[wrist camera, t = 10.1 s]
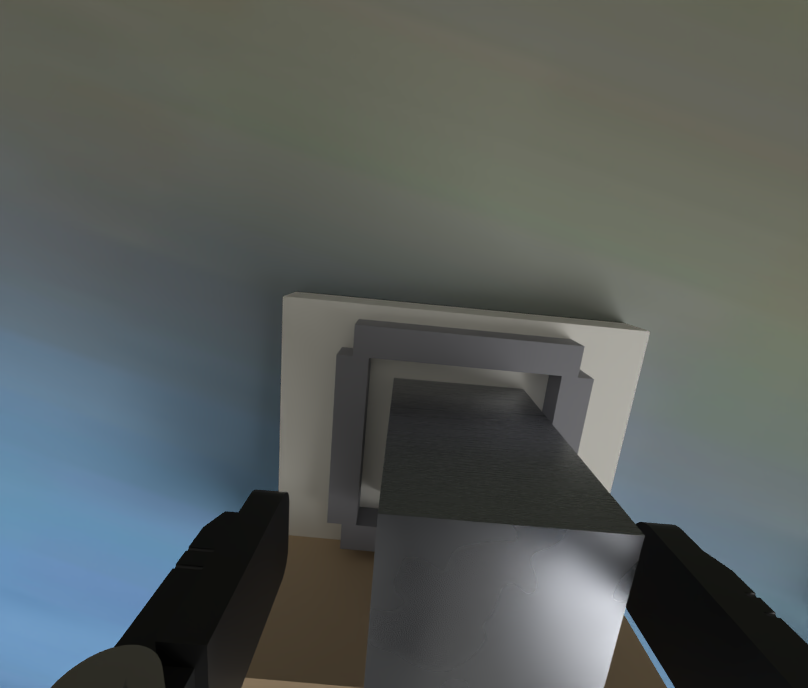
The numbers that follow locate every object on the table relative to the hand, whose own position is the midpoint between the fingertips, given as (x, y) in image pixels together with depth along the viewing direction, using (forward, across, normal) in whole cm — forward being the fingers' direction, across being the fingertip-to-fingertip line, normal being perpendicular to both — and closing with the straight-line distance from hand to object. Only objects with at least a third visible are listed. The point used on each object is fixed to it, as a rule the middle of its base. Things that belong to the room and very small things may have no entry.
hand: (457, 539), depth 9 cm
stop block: (+5, 0, 0) cm, 5 cm away
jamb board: (+6, 0, +5) cm, 8 cm away
